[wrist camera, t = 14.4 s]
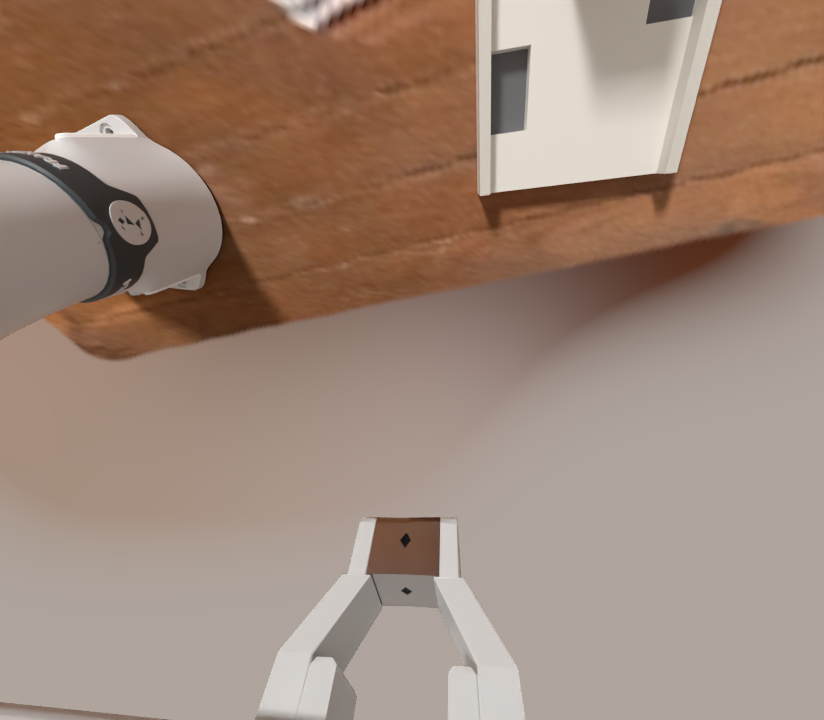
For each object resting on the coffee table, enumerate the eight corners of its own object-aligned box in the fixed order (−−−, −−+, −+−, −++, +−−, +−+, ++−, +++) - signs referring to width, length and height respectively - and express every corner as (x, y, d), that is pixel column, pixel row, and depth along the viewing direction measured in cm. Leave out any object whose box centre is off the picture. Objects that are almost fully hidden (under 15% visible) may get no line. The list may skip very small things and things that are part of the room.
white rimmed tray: (477, 193, 35) (481, 197, 32) (473, -187, 23) (478, -255, 19) (658, 171, 33) (686, 173, 29) (762, -266, 21) (834, -361, 17)
